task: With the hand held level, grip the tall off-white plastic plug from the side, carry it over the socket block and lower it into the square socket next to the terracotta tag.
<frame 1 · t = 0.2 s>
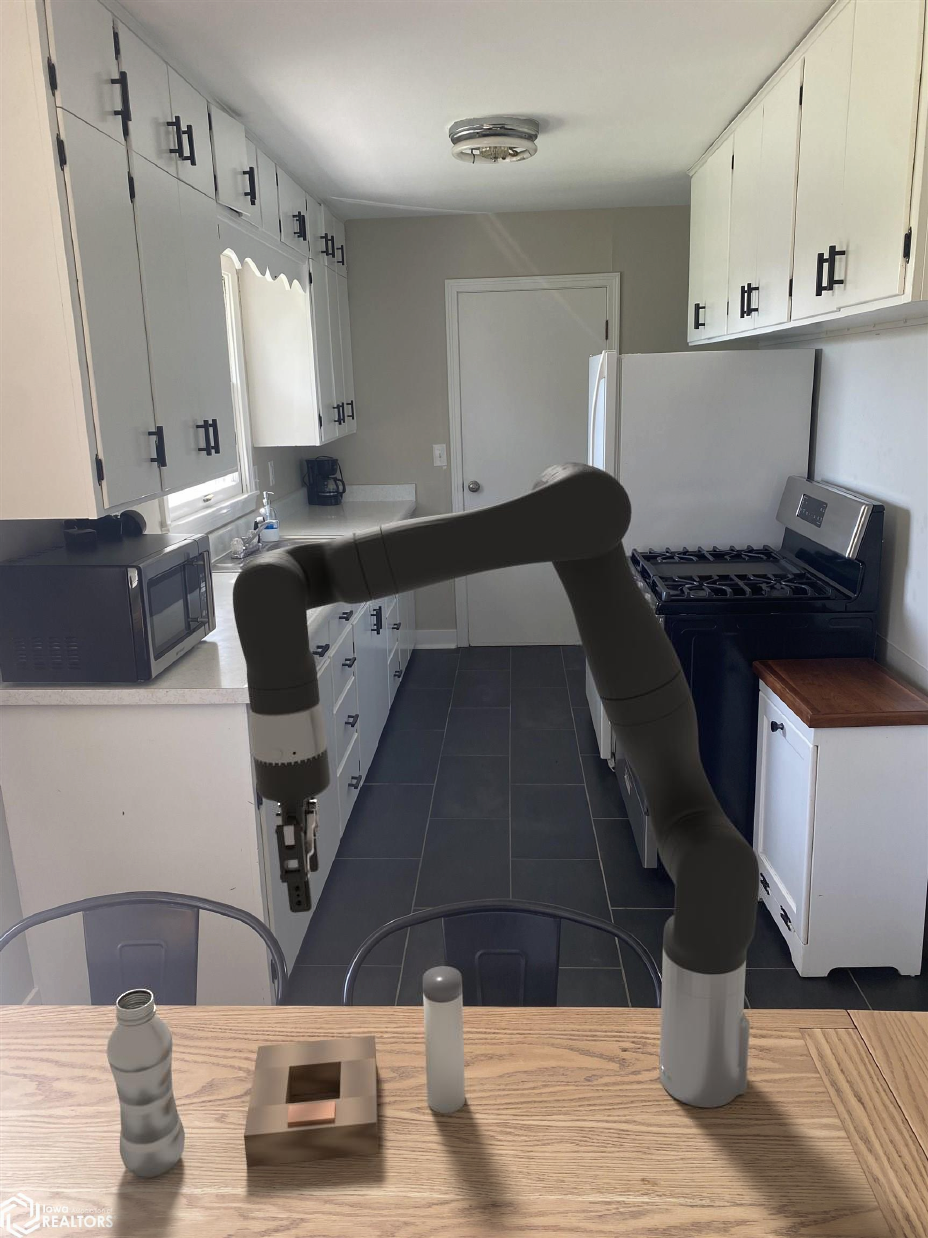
hand: (305, 889, 99), 29 cm above the table, tool pointing down, fingers open, 8 cm apart
plastic bottle: (154, 1164, 100), on the table
plug: (446, 1099, 108), on the table
socket block: (316, 1112, 106), on the table
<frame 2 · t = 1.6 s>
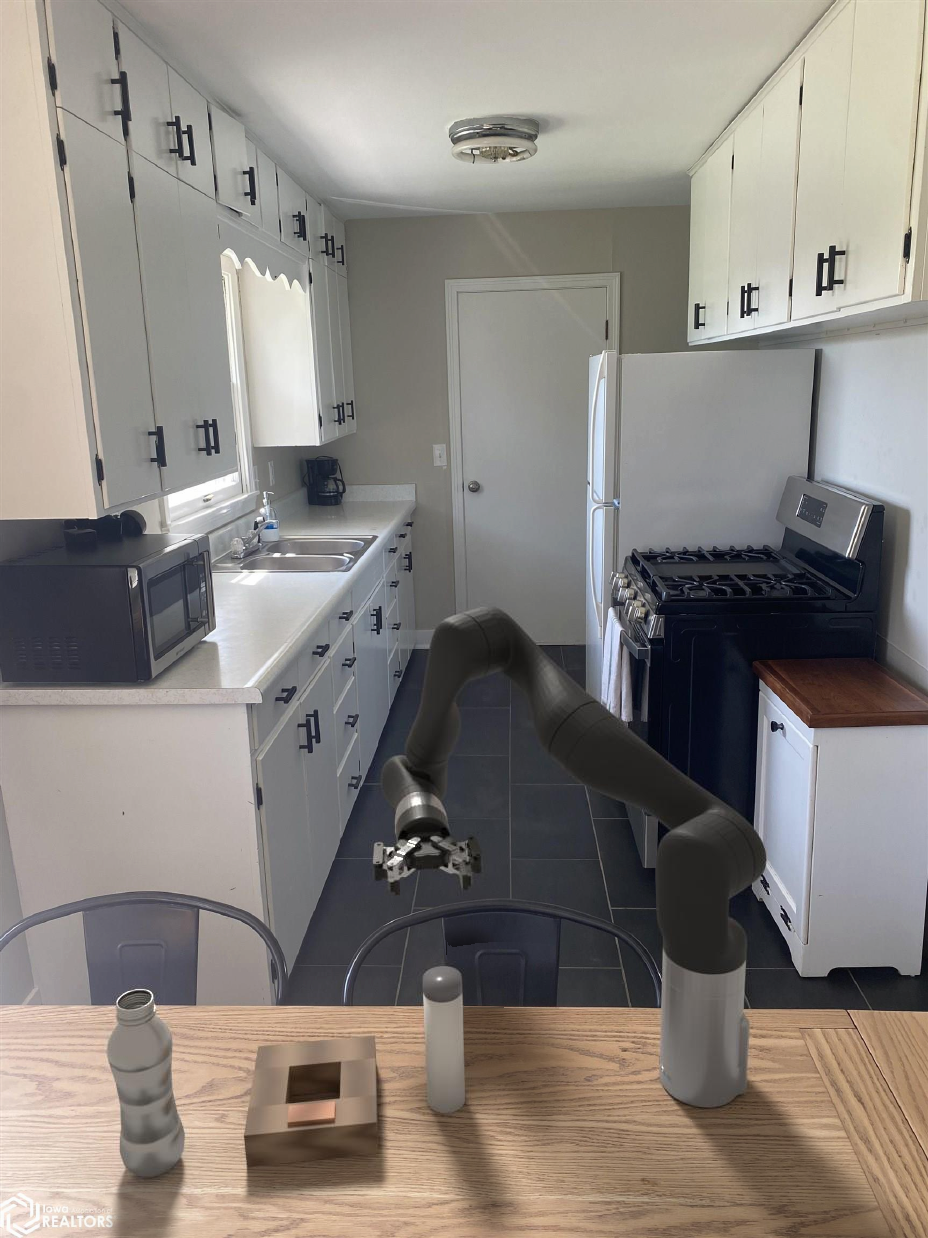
hand: (431, 886, 116), 20 cm above the table, tool horizontal, fingers open, 8 cm apart
nothing on the table moved.
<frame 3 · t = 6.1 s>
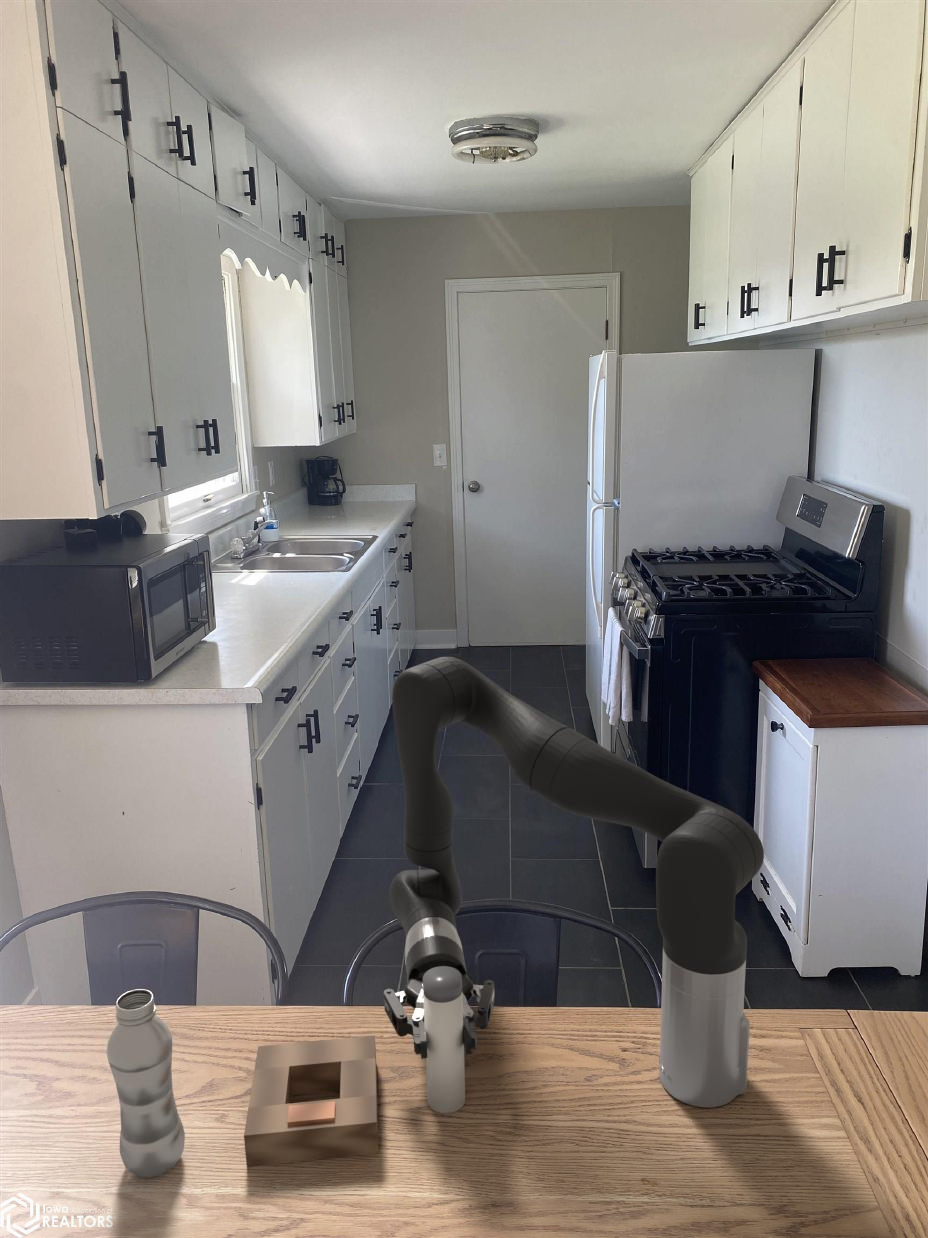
hand: (446, 1049, 103), 9 cm above the table, tool horizontal, fingers closed on plug, 4 cm apart
plug: (446, 1099, 108), on the table, touching gripper
everything else where it was.
when the fingers open (10 cm above the table, at t = 11.1 s): plug drops 1 cm, resting in socket block.
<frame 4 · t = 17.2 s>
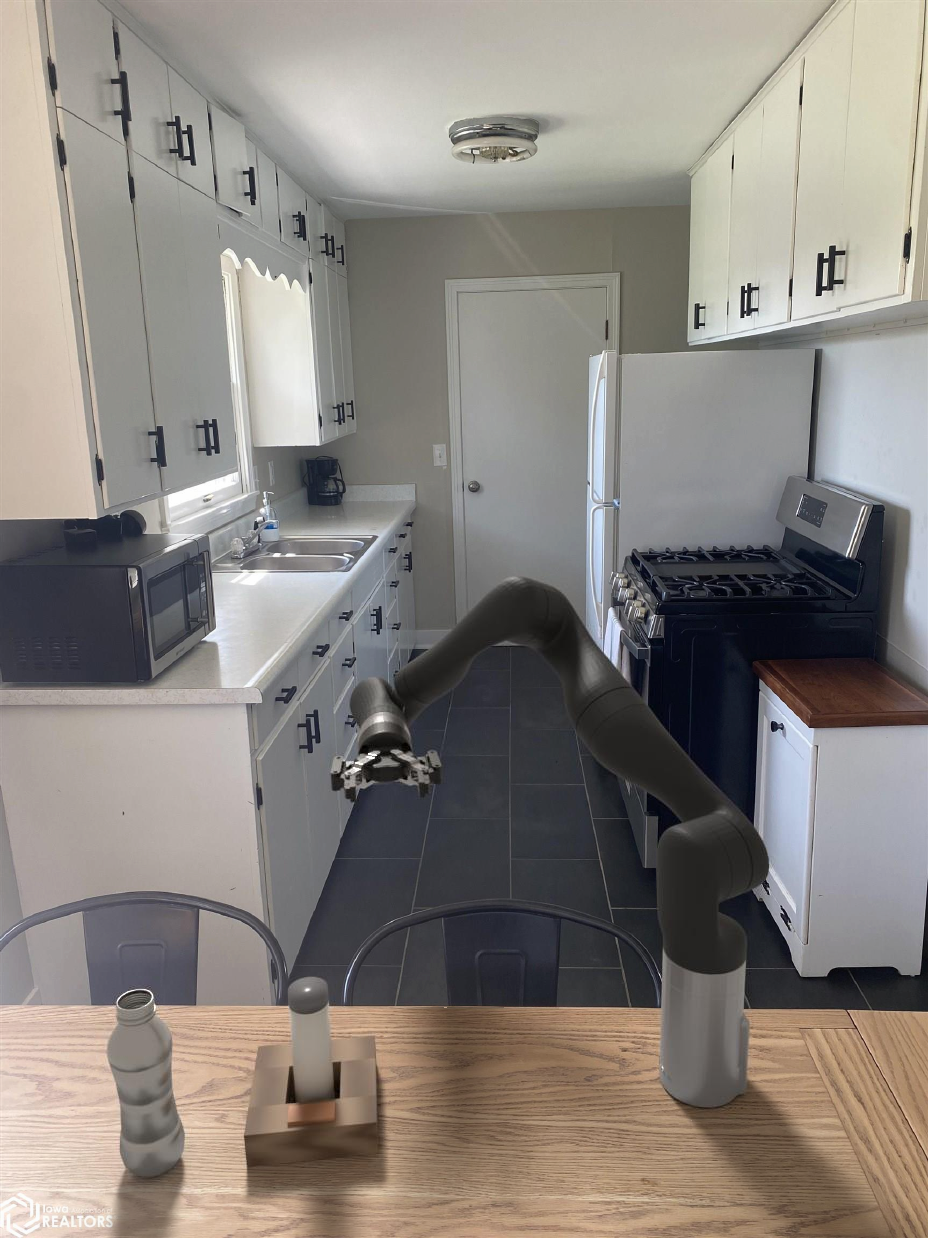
hand: (387, 793, 115), 32 cm above the table, tool horizontal, fingers open, 8 cm apart
plug: (316, 1111, 107), resting in socket block
everything else where it was.
at the end: plug 0.1 cm off-centre on the socket block, point 0.0 cm above the socket block's base; plug tilted 0°; the gripper is holding nothing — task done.
